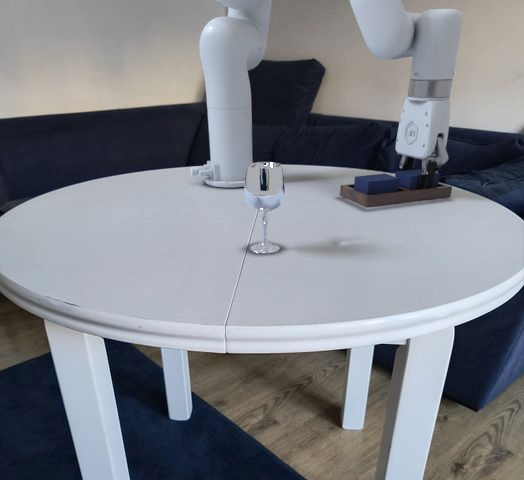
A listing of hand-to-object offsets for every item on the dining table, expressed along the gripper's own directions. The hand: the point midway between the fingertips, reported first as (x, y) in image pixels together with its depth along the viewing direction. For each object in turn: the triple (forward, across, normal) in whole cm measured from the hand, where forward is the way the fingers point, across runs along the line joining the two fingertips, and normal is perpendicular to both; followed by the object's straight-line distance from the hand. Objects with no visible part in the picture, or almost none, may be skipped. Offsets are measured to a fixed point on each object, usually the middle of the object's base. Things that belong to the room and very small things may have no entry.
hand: (414, 190), depth 98 cm
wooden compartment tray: (+1, 0, -5) cm, 5 cm away
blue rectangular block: (0, 0, 0) cm, 0 cm away
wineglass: (+1, +17, -40) cm, 43 cm away
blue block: (+1, 0, -9) cm, 9 cm away
